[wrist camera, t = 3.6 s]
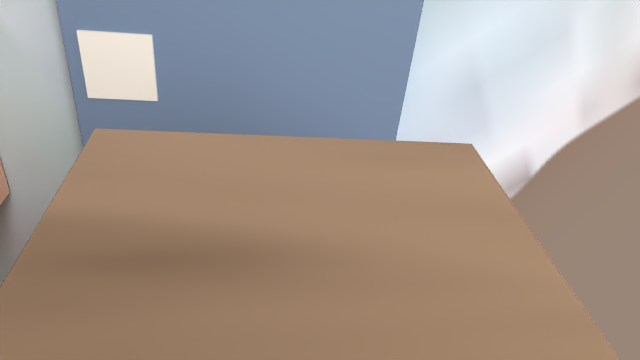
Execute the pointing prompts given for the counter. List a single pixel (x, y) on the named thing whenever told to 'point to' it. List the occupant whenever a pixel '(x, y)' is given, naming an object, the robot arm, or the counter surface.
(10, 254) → the counter surface
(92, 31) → the board
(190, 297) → the walnut block
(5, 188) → the terracotta cube
